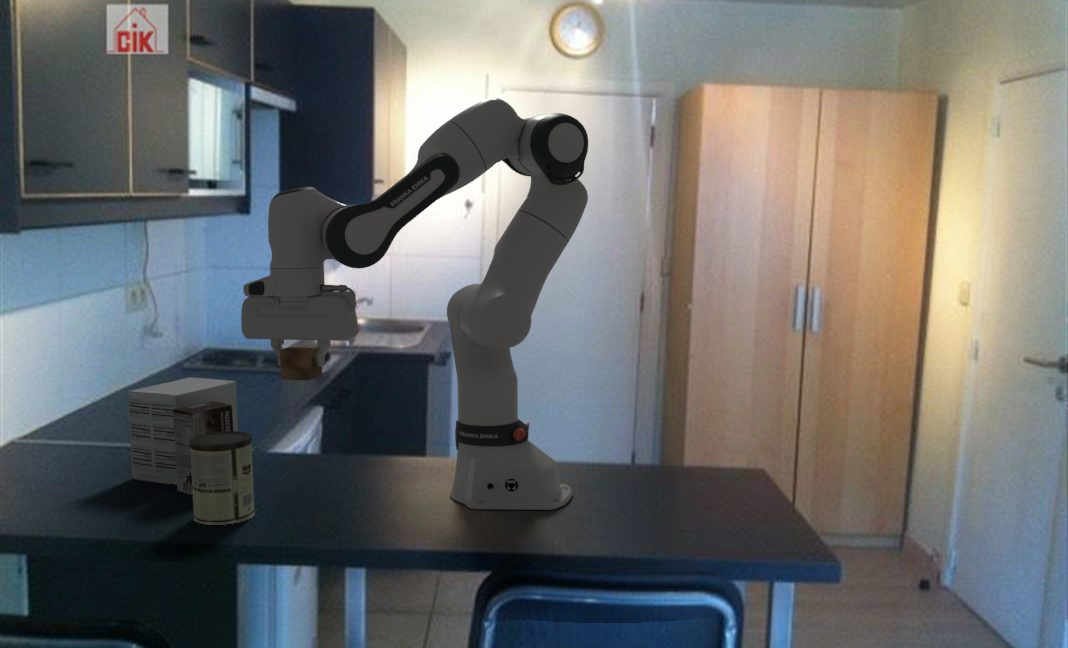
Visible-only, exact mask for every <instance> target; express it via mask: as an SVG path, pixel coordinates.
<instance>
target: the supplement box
mask: <svg viewBox="0 0 1068 648" xmlns="http://www.w3.org/2000/svg"><path fill="white" fill-rule="evenodd" d="M237 392H238V391H237V381H234V380H226V379H215V378H206V377H205V378H204V377H185V378H182V379H177V380H174V381H169V382H164V383H158V384H154V385H150V386H145V387H140V388H137V389H132V390H127V406H128V421H129V422H128V424H129V437H130V438H129V439H130V440H129V441H130V442H129V443H130V455H131V456H130V457H131V458H130V459H131V476H132V479H133V480H138V481H143V482H144V481H145V482H151V483H158V484H163V483H164V484H163V485H170V484H174V485H173V486H177V468H176V449H175V431H174V413H173V409H177V408H181V407H186V406H191V405H196V404H201V403H206V402H211V401H215V402H221V403H225V404H228V405H232V417H233V431H238V432H239V424H238V423H239V422H238V420H239V419H238V398H237V397H238V394H237Z"/></svg>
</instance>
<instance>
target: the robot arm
mask: <svg viewBox="0 0 1068 648" xmlns="http://www.w3.org/2000/svg"><path fill="white" fill-rule="evenodd" d="M588 152H589V136H588V133H587V130H586V128H585V127H584V125H583V124H582V122H580V121H579V120H578V119H577V118H575V117H573V116H571V115H569V114H566V113H560V112H553V113H547V114H537V115H535V116H532V117H528V118H521V117H520V116H519V115H518V113H517V112H516V110H515V109H514V108H513V107H512V106H511V104H509V103H508V102H507V101H505V100H503V99H500V98H498V97H490V98H486V99H484V100H482V101H479V102H477V103H476V104H473V105H472V106H470V107H467V108H466V109H464V110H463V111H460V112H459V113H458V114H456V115H455V116H453V117H451V118H450V119H449V120H447V121H446V122H445V123H443V124H442V125H440V126H439V127H438V128H437V129H436V130H435V131H433V132H432V133H431V134H430V135H429V136H428V138H426V140H425V141H424V142H423V143H422V144H421V146H419V149H418V153H417V160H416V163H415V165H414V167H412V169H411V170H410V171H409V172H408V173H407V174H406V175H405V176H404V177H402V178H400V179H399V180H398V181H397V182H395V183H394V184H393V185H392V186H391V187H389V188H388V189H387V190H386V191H384V192H383V193H381V194H380V195H379V196H378V197H376V198H374V199H373V200H371V201H368V202H365V203H361V204H355V205H351V206H350V205H347V204H345V203H342V202H339V201H337V200H335V199H332V198H330V197H328V196H326V195H324V194H323V193H322V192H320V191H319V190H317V188H315V187H312V186H305V187H304V186H303V187H297V188H293V189H288V190H284V191H280V192H278V193H276V194H275V195H273V198H272V199H271V200H270V202H269V206H268V207H269V208H268V220H267V222H268V223H267V230H268V231H267V232H268V234H267V235H268V245H269V247H270V250H271V260H270V264H269V273H270V274H269V275H267V276H264V277H261V278H259V279H256V280H254V281H253V280H252V281H250V282H246V283H245V284H243V289H242V292H243V295H244V296H246V298H245V299H244V300H243V302H242V305H241V311H240V312H241V314H240V315H241V316H240V317H241V318H240V323H241V324H240V325H241V326H240V327H241V333H242V335H243V336H244V337H245V338H246V339H247V340H270V347H271V349H272V350H273V352H274V354H275V355H276V356H277V366H279V367H281V363H280V350H282V349H284V347H283V345H285V340H286V341H293V340H295V341H316V343H317V344H316V346H318V347H320V350H319V352H318V354H317V355H316V356H313V357H312V361H313V363H312V365H313V367H322V368H323V367H324V366H326V365H325V364H326V360H325V359H326V358H325V356H326V355H327V353H328V351H329V349H330V347H331V345H332V344H331V341H336V342H337V341H344V342H345V341H351V340H354V339H355V338H356V337H357V336H358V334H359V325H358V324H359V322H358V317H357V312H356V311H357V310H356V305H357V300H356V299H357V298H356V297H357V295H356V293H355V291H354V290H353V289H352V288H351V287H348V285H345V284H338V285H337V284H336V285H335V284H326V283H325V264H324V263H325V261H326V260H334V261H336V262H338V263H340V264H342V266H345V267H348V268H351V269H365V268H366V269H367V268H369V267H373V266H374V265H375V264H377V263H379V261H381V260H382V258H383V257H385V255H386V253H387V252H388V250H389V248H390V247H391V245H392V243H393V241H394V239H395V238H396V236H397V235H398V233H399V232H400V231H401V230H403V228H404V227H405V226H407V224H409V223H410V222H412V221H413V220H414V219H416V218H417V217H418V216H419V215H420V214H421V213H422V212H424V211H425V210H426V209H427V208H429V207H430V206H431V205H433V204H434V203H435V202H436V201H437V200H440V199H441V198H444V197H446V196H447V195H449V194H451V193H453V192H455V191H458V190H460V189H462V188H464V187H465V186H468V185H469V184H470V183H472V182H474V181H475V180H476V179H478V178H480V177H481V176H482V175H483V174H485V173H486V172H487V171H489V170H490V169H491V168H493V167H494V165H496V164H498V163H500V162H503V163H504V164H506V165H507V167H509V168H510V169H511V170H512V171H513V172H515V173H516V174H519V175H521V176H524V177H530V187H529V191H528V193H527V195H526V198H525V200H524V201H523V203H522V204H521V205H520V207H519V208H518V210H517V211H516V213H515V215H514V216H513V218H512V219H511V221H510V222H509V224H508V226H507V227H506V229H505V230H504V232H503V234H502V235H501V236H500V238H499V240H498V241H497V243H496V244H495V246H494V249H493V256H492V258H491V259H492V260H491V262H490V264H489V267H488V269H487V271H486V273H485V276H484V278H483V281H482V282H481V283H472V284H467V285H465V286H463V287H461V288H460V289H458V290H457V291H456V292H454V293H453V295H451V297H450V299H449V301H448V303H447V307H446V317H447V321H448V323H449V330H450V339H451V346H452V347H451V348H452V353H453V358H454V364H455V371H456V381H457V382H456V383H457V420H456V422H455V428H454V429H455V430H454V431H455V435H454V439H455V441H454V442H455V449H456V451H457V454H456V462H455V463H456V465H455V473H454V477H453V478H454V479H453V483H452V486H451V491H450V494H449V495H450V498H452V499H453V500H454V501H455V502H458V503H461V504H464V505H465V506H466V507H467V508H469V509H471V510H517V511H518V510H525V511H528V510H529V511H531V510H533V511H535V510H536V511H541V510H543V511H545V510H546V511H550V510H556V509H558V508H561V507H563V506H565V505H566V504H568V502H569V501H571V498H572V497H573V492H572V488H571V486H570V485H568V484H565V483H561V480H560V473H559V470H558V469H559V468H558V466H557V464H556V462H555V460H554V459H553V458H552V457H551V456H550V455H548V454H547V453H546V452H544V451H543V450H542V449H540V448H539V447H537V445H536V444H534V443H532V442H531V441H530V440H529V429H530V422H527V423H524V422H523V421H522V420H520V419H519V417H518V415H519V412H518V411H519V409H518V408H519V407H518V406H519V404H518V403H519V402H518V401H519V400H518V399H519V398H518V397H519V394H518V392H519V391H518V390H519V389H518V387H519V386H518V385H519V383H518V381H519V380H518V376H517V372H516V370H515V367H514V364H513V358H512V355H511V354H512V353H511V348H514V347H516V346H518V345H520V344H521V343H523V341H524V340H525V339H526V338H527V337H528V335H529V333H530V330H531V326H532V315H533V312H534V310H535V308H536V306H537V303H538V300H539V297H540V294H541V292H542V290H543V287H544V284H545V283H546V280H547V278H548V277H549V275H550V273H551V271H552V270H553V268H554V266H555V264H556V263H558V260H559V258H560V257H561V255H562V254H563V251H564V250H565V248H566V247H567V245H568V243H569V242H570V240H571V239H572V237H573V235H574V233H575V232H576V230H577V228H578V226H579V223H580V222H581V220H582V217H583V215H584V212H585V210H586V207H587V205H588V201H589V194H588V190H587V189H586V187H585V185H584V184H583V183H582V181H581V180H579V179H580V177H582V175H583V174H584V171H585V170H584V169H585V161H586V158H587V156H588ZM577 174H578V175H577Z"/></svg>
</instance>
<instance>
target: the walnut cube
mask: <svg viewBox="0 0 1068 648" xmlns="http://www.w3.org/2000/svg"><path fill="white" fill-rule="evenodd" d="M319 350H320V347H318V346H317V345H300V344H299V345H298V344H297V345H296V344H295V345H292V346H287V347H285V348H284V347H283V349H282V350H280V363H281V366H280V379H281V380H285V381H286V380H287V381H288V380H289V381H310V380H313V379H315V378H318V377H321V376H323V366H322V367H313V365H312V363H313V361H312V357H313V356H316V355H317V354H318V352H319Z"/></svg>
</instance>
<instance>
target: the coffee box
mask: <svg viewBox="0 0 1068 648" xmlns="http://www.w3.org/2000/svg"><path fill="white" fill-rule="evenodd" d="M173 413H174V431H175V449H176V468H177V485H176V486H177V492H178V491H180V492H179V493H181V492H184V493H183V494H185V493H187V495H189V494H191V495H190V496H192V495H193V490H192V472H191V453H190V445H189V440H190V439H191V438H193V437H195V436H198V435H202V434H207V433H213V432H224V431H233V417H232V405H228V404H225V403H221V402H215V401H211V402H206V403H201V404H196V405H191V406H186V407H181V408H177V409H173Z"/></svg>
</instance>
